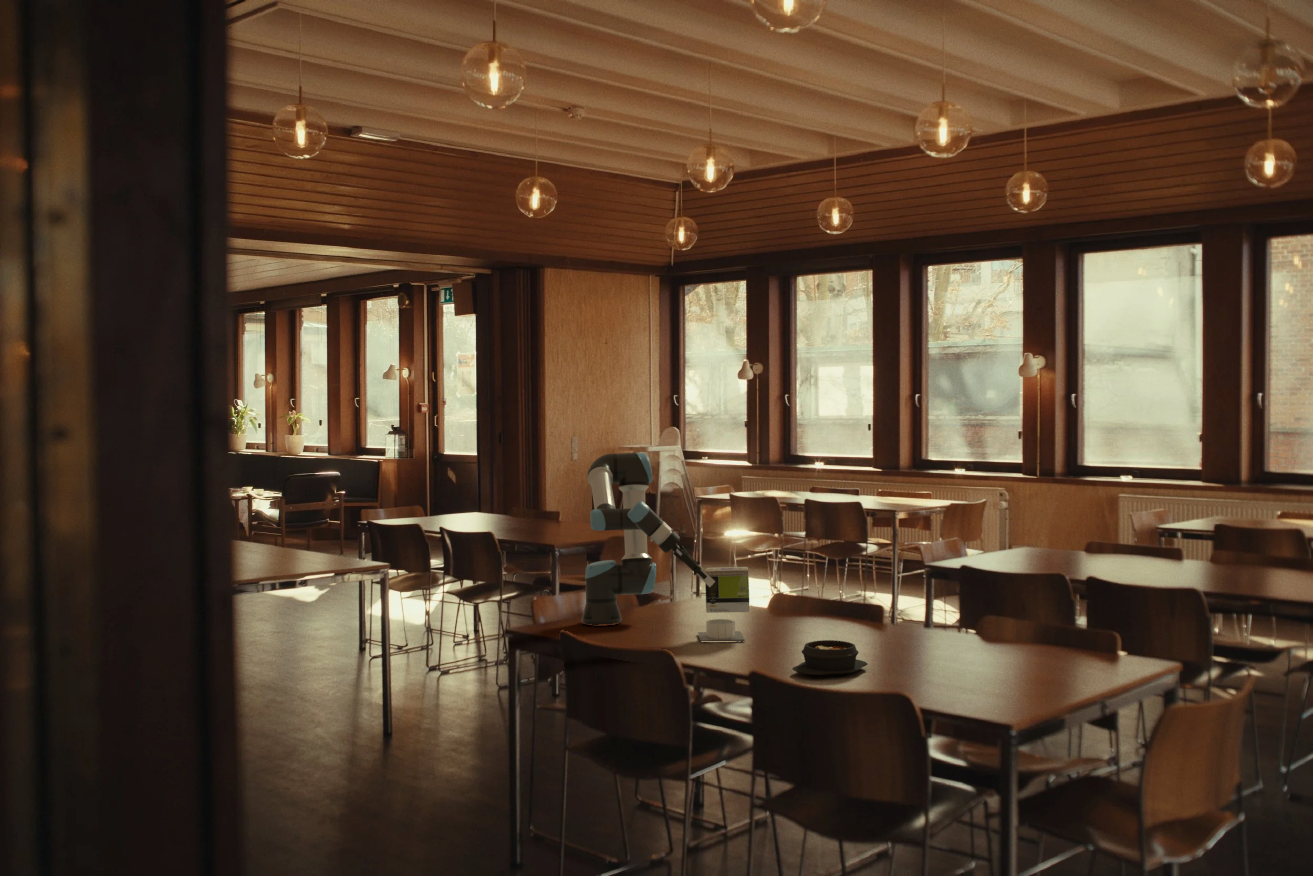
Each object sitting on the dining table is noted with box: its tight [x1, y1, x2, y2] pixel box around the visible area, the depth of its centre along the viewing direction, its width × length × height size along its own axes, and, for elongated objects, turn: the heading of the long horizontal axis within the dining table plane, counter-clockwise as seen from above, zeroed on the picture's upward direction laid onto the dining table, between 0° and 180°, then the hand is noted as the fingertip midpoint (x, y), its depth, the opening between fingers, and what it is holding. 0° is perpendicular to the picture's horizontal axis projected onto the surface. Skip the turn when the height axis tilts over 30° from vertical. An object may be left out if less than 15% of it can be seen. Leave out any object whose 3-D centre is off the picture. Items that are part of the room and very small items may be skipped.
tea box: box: [704, 566, 750, 614], centre depth 395 cm, size 15×10×15 cm, turn 85°
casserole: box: [791, 639, 869, 677], centre depth 341 cm, size 25×19×8 cm
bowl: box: [697, 618, 745, 641], centre depth 397 cm, size 15×15×6 cm
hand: (711, 582), depth 396 cm, fingers closed on tea box, 10 cm apart
